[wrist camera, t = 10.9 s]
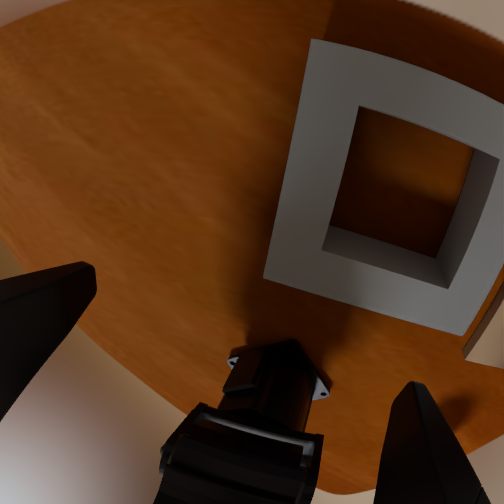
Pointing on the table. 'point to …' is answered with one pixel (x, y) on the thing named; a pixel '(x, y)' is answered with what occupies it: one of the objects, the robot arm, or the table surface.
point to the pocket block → (369, 249)
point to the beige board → (489, 336)
